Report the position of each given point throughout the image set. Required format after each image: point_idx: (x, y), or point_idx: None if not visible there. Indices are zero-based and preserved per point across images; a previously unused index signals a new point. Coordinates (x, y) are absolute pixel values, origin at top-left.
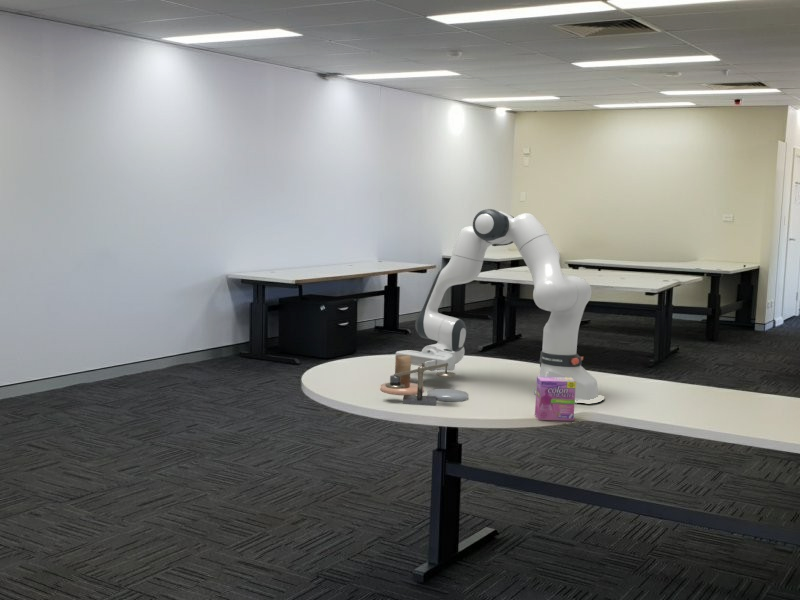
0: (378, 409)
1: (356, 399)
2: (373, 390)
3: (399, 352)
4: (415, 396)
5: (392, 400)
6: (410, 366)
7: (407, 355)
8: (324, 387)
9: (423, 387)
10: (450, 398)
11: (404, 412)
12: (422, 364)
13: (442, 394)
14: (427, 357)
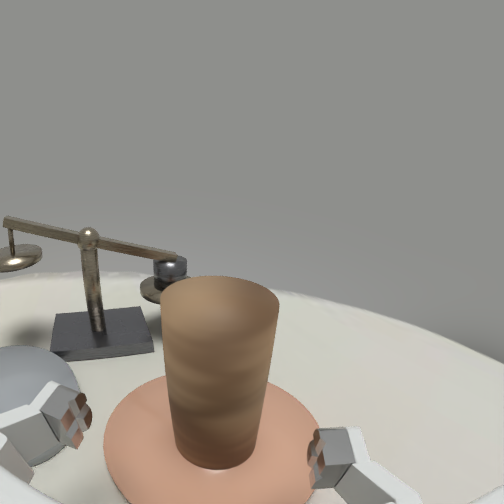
0: None
1: None
2: (304, 389)
3: (489, 499)
4: (112, 336)
5: None
6: (164, 360)
7: (206, 323)
8: (409, 341)
9: (107, 463)
10: (11, 347)
11: (123, 280)
12: (85, 403)
13: (26, 375)
14: (33, 488)
